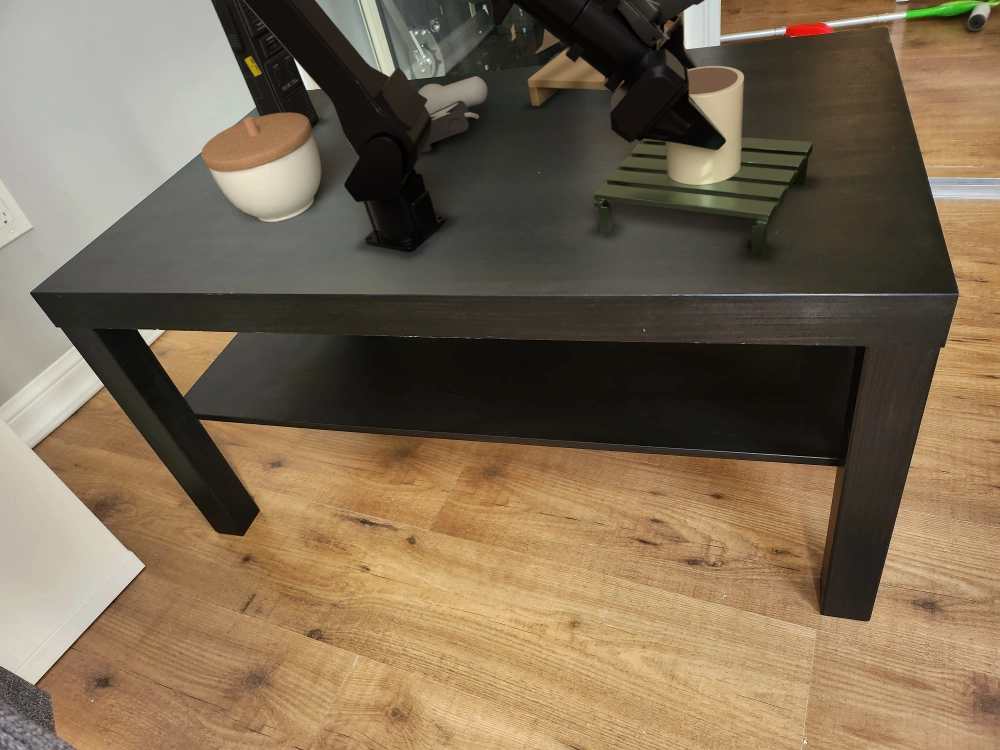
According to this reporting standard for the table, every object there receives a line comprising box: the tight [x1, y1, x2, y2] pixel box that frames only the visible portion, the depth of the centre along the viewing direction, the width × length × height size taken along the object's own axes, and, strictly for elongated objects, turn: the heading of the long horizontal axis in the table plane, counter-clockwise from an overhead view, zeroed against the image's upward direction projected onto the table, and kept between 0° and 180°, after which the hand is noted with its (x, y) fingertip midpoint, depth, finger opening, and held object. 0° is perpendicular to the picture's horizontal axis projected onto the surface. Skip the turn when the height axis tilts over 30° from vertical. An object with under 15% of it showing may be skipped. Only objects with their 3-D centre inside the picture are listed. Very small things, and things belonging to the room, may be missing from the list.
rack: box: [592, 137, 814, 256], centre depth 67 cm, size 16×14×4 cm
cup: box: [666, 65, 745, 185], centre depth 63 cm, size 7×7×8 cm
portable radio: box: [210, 0, 320, 127], centre depth 97 cm, size 8×6×25 cm
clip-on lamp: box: [417, 75, 489, 153], centre depth 93 cm, size 12×6×18 cm
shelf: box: [527, 48, 624, 107], centre depth 93 cm, size 16×12×4 cm
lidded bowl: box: [200, 113, 322, 223], centre depth 82 cm, size 13×13×11 cm
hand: (718, 122), depth 62 cm, fingers open, 9 cm apart
